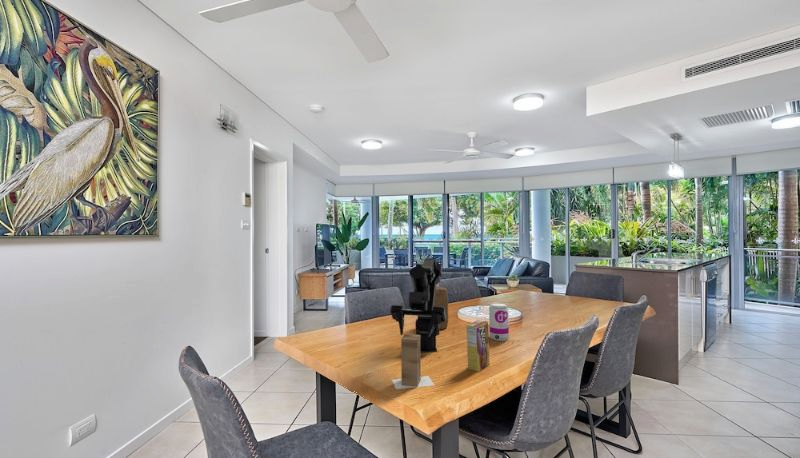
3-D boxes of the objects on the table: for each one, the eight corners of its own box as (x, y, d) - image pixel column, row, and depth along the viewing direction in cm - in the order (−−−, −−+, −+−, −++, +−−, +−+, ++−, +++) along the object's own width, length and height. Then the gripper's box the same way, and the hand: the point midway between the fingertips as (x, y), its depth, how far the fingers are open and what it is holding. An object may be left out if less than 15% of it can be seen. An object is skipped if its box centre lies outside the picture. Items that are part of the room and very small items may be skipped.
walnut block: (405, 378, 110) (404, 334, 110) (420, 379, 109) (420, 335, 109) (401, 385, 105) (401, 338, 106) (417, 386, 104) (417, 339, 104)
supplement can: (511, 341, 149) (510, 306, 150) (492, 341, 149) (491, 306, 150) (505, 336, 157) (505, 302, 158) (487, 336, 157) (487, 303, 158)
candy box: (478, 362, 125) (478, 319, 125) (489, 364, 122) (489, 321, 123) (466, 369, 118) (466, 324, 119) (478, 372, 116) (477, 326, 116)
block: (449, 329, 169) (449, 288, 170) (435, 330, 168) (434, 289, 168) (441, 324, 180) (440, 285, 180) (427, 325, 178) (427, 286, 179)
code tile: (428, 377, 112) (428, 376, 112) (434, 386, 105) (434, 385, 105) (391, 380, 109) (391, 379, 109) (395, 389, 103) (395, 388, 103)
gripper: (391, 281, 122) (382, 320, 111) (444, 282, 117) (441, 323, 106) (396, 300, 129) (389, 338, 118) (446, 302, 125) (444, 341, 114)
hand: (414, 335), depth 114 cm, fingers open, 9 cm apart
